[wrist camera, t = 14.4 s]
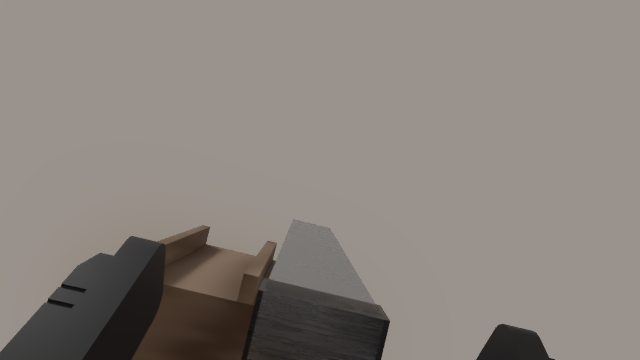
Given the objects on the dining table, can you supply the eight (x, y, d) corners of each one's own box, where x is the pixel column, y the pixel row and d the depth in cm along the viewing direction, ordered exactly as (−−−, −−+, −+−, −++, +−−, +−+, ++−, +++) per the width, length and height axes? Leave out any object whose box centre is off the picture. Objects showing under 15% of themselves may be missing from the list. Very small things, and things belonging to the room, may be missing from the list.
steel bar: (227, 413, 12) (258, 289, 12) (282, 255, 40) (291, 219, 40) (360, 443, 12) (390, 321, 12) (322, 265, 40) (331, 228, 40)
